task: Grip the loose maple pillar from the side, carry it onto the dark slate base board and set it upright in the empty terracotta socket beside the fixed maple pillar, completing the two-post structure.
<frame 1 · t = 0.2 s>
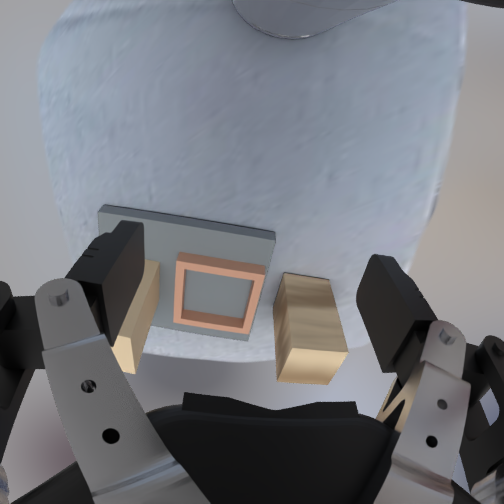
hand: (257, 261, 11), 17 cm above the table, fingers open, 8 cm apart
maple pillar: (300, 294, 34), on the table
base board: (180, 275, 33), on the table
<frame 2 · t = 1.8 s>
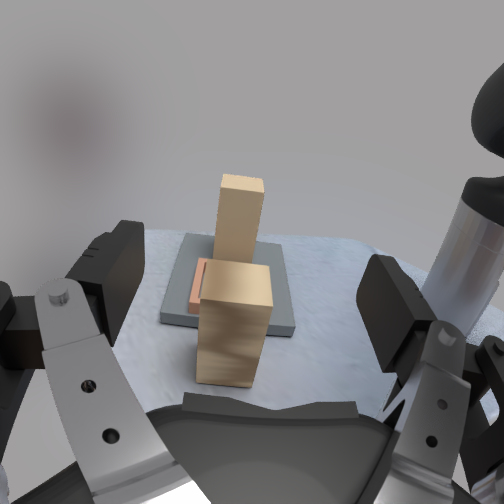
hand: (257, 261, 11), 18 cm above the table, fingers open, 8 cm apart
maple pillar: (224, 364, 29), on the table
base board: (229, 282, 40), on the table
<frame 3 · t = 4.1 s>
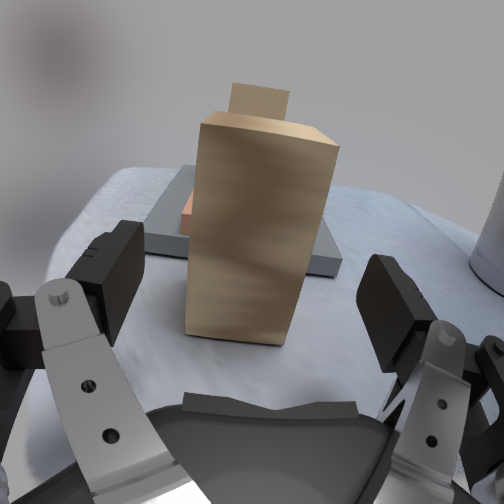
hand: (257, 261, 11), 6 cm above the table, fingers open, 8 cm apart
maple pillar: (236, 308, 18), on the table
base board: (241, 213, 29), on the table
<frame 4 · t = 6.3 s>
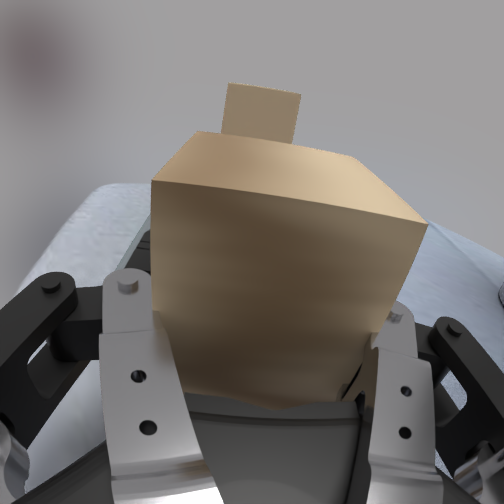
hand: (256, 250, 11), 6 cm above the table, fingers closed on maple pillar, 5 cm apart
maple pillar: (234, 404, 12), on the table, touching gripper
base board: (240, 248, 23), on the table
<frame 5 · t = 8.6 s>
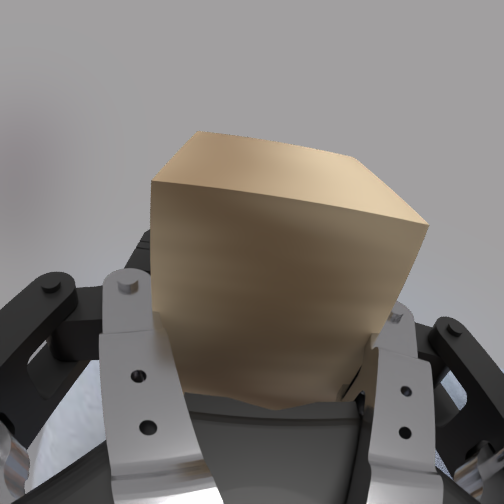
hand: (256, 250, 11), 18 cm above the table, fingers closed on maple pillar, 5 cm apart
maple pillar: (234, 405, 12), point 12 cm above the table, touching gripper
when the fingers open (10 cm above the table, at t = 11.1 s): maple pillar drops 2 cm, resting on base board.
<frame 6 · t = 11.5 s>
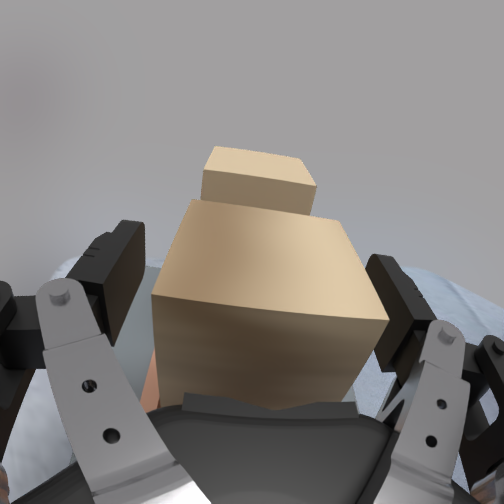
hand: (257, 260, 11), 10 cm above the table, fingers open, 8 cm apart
maple pillar: (230, 429, 13), point 1 cm above the table, touching base board
base board: (228, 381, 18), on the table
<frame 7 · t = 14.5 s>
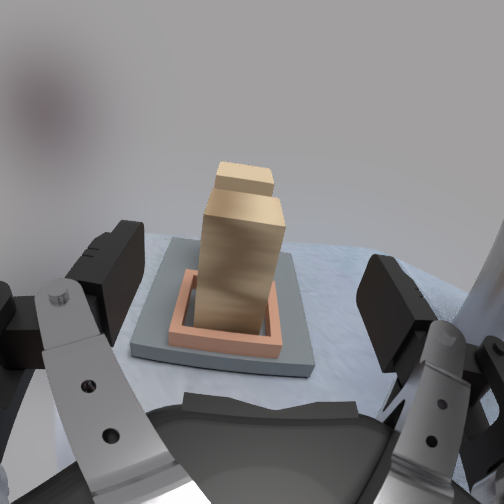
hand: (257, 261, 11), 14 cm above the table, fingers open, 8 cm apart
maple pillar: (226, 317, 26), point 1 cm above the table, touching base board
base board: (226, 301, 30), on the table
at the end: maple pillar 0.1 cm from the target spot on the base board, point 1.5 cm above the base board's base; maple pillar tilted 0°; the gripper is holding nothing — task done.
